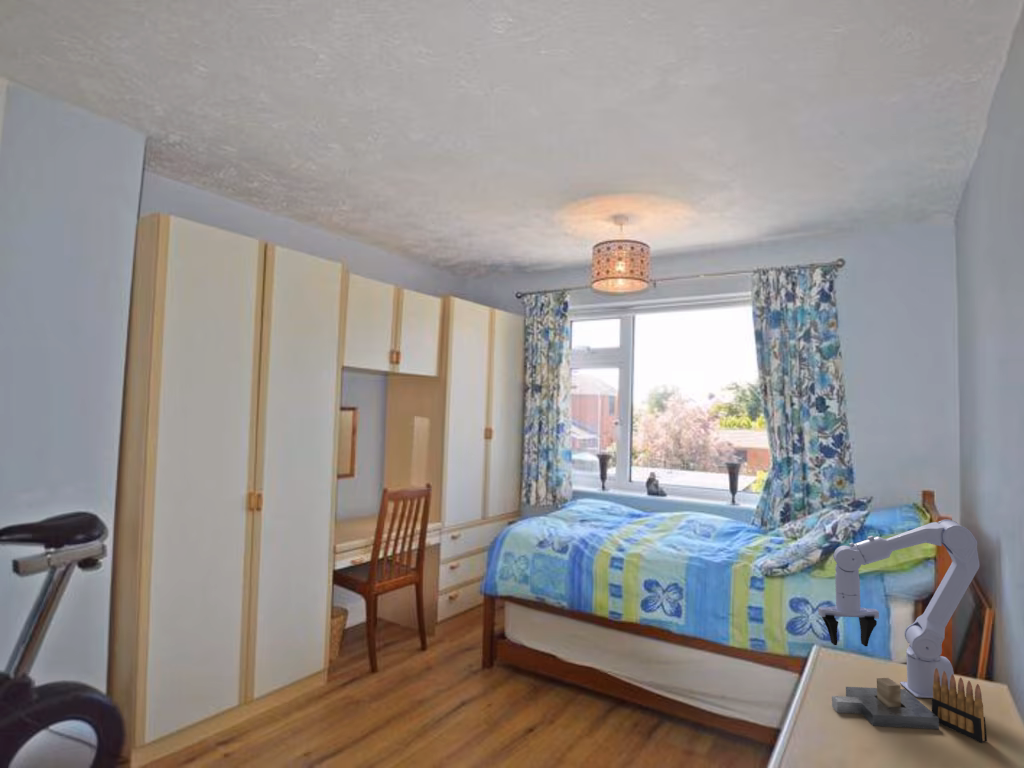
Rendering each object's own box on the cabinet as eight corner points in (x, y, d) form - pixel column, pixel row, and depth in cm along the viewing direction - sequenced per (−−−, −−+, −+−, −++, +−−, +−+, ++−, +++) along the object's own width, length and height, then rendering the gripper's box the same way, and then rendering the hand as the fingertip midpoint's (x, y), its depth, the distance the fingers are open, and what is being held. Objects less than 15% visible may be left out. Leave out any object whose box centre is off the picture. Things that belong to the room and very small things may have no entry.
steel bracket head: (905, 699, 149) (905, 689, 149) (939, 729, 135) (938, 717, 135) (822, 695, 151) (822, 685, 151) (847, 724, 137) (847, 713, 137)
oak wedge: (889, 707, 145) (888, 677, 145) (901, 715, 141) (900, 685, 142) (877, 707, 145) (876, 678, 145) (889, 716, 141) (888, 685, 141)
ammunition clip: (987, 741, 130) (985, 685, 131) (981, 743, 129) (979, 686, 130) (936, 718, 140) (934, 665, 140) (931, 719, 139) (929, 667, 140)
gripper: (869, 588, 164) (870, 639, 163) (813, 587, 165) (814, 637, 165) (882, 596, 157) (883, 649, 156) (824, 595, 158) (825, 647, 158)
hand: (849, 644), depth 160 cm, fingers open, 7 cm apart
